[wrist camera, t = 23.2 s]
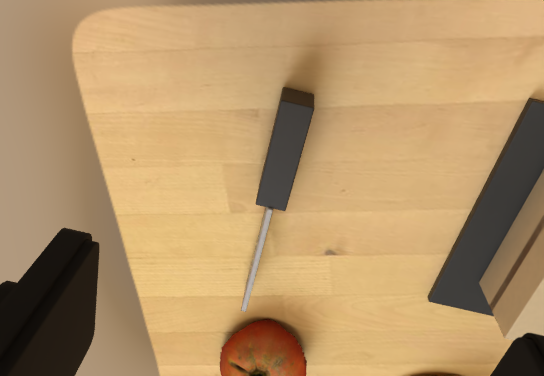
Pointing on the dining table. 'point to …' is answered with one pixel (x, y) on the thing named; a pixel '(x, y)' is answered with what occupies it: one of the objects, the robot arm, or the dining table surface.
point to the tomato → (262, 352)
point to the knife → (281, 165)
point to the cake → (504, 238)
